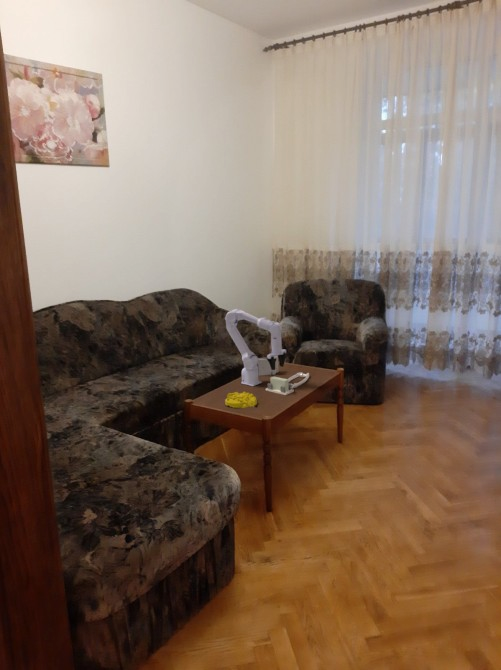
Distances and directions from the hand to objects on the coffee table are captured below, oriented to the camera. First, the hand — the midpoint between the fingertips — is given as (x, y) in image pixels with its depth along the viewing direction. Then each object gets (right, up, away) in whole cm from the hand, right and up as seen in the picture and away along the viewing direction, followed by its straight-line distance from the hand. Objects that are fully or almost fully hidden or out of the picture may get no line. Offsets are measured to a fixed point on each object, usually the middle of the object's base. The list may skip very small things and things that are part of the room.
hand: (277, 368), depth 279 cm
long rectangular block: (+1, -11, -8) cm, 14 cm away
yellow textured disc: (-20, -17, -22) cm, 34 cm away
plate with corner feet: (+1, -12, -8) cm, 14 cm away
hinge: (-4, -5, +24) cm, 25 cm away
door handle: (+12, -9, +7) cm, 16 cm away
